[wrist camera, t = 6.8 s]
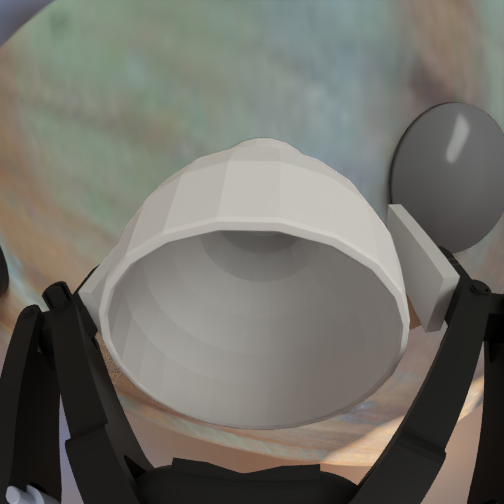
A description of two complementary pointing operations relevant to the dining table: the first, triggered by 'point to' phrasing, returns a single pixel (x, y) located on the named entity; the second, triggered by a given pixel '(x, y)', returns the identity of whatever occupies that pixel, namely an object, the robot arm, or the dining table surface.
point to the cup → (256, 292)
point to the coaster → (451, 174)
